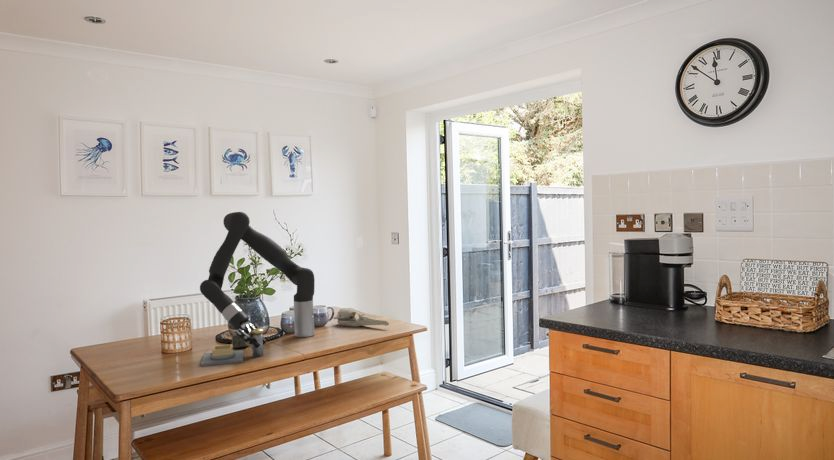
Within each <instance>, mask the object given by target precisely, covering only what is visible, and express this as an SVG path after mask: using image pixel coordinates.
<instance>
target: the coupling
mask: <svg viewBox="0 0 834 460" xmlns="http://www.w3.org/2000/svg"><path fill="white" fill-rule="evenodd" d="M264 331H265V329H264V328H262V327H261V328H260V327H259V328H255V329H251V333H252V335H253V336H254V338H255V339H256V340H257V341H258V342H259V343H260V346H259V347H258V348H256V347H255V346H254V345H253V344H252V343H251V347H252V348H251V349H252V357H253V358H259V357H263V356H264V345H263V338H264V334H263V333H264Z"/></svg>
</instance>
